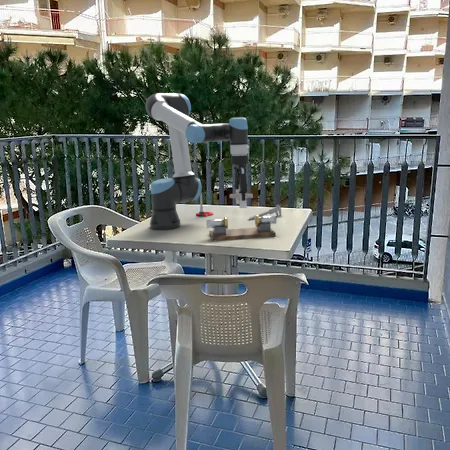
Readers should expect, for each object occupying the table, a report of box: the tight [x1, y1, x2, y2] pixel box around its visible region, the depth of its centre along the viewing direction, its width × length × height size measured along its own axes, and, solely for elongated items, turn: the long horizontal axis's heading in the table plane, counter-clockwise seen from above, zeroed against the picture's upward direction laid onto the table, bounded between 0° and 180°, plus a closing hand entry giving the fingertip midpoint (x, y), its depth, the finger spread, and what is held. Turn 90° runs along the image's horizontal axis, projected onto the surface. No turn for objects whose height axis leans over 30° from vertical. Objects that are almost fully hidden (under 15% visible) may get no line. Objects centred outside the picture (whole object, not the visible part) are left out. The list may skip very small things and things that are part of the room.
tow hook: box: [195, 192, 214, 217], centre depth 234 cm, size 8×13×9 cm
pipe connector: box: [229, 185, 254, 208], centre depth 186 cm, size 10×10×10 cm
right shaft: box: [254, 214, 277, 232], centre depth 190 cm, size 9×6×7 cm, turn 98°
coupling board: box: [208, 226, 277, 242], centre depth 190 cm, size 28×12×2 cm, turn 98°
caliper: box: [247, 204, 282, 221], centre depth 222 cm, size 20×1×6 cm, turn 117°
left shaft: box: [206, 216, 229, 235], centre depth 187 cm, size 9×6×7 cm, turn 98°
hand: (241, 205), depth 187 cm, fingers closed on pipe connector, 10 cm apart
